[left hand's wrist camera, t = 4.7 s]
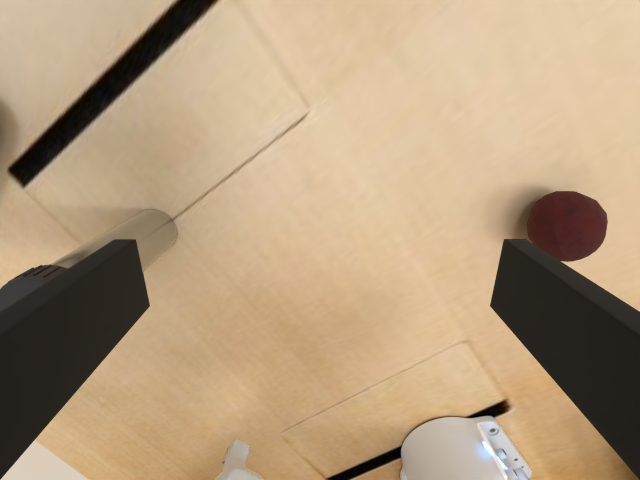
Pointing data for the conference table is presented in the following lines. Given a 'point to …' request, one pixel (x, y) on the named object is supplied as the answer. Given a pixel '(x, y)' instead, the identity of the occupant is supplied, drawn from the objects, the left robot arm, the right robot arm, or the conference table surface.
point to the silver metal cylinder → (146, 227)
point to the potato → (567, 225)
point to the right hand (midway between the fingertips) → (216, 469)
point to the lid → (27, 283)
